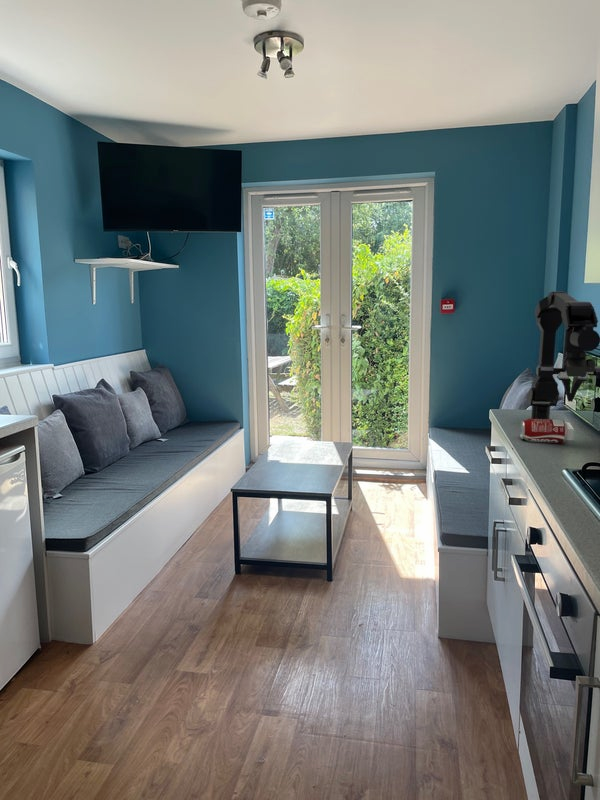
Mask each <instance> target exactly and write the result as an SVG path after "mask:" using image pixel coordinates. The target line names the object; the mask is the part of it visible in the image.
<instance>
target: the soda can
mask: <svg viewBox="0 0 600 800" xmlns="http://www.w3.org/2000/svg"><path fill="white" fill-rule="evenodd" d="M565 422H566V421H565V420H564V419H555V418H554V419H531V418H527V419H525V420H521V422H520V426H519V427H520V428H519V429H520V433H519V434H520V439H521V440H525V441H526V442H532V443H533V442H535V443H553V444H554V443H555V444H564V443H565V442H566V441H567V440H566V439H567V434H568V428H567V424H566V423H565Z"/></svg>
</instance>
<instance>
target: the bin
mask: <svg viewBox="0 0 600 800" xmlns="http://www.w3.org/2000/svg"><path fill="white" fill-rule="evenodd" d="M565 423H566V424H567V428H568V434H567V439H566V440H565V441H571V442H572V441H574V435H575V429H574V427H573V426H572V424H571V423H570V422H569V421H568V422H567V421H565Z"/></svg>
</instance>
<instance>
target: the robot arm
mask: <svg viewBox="0 0 600 800" xmlns="http://www.w3.org/2000/svg"><path fill="white" fill-rule="evenodd" d="M534 317H535V323H536V326H537V327H538V329H539V330H540V336H539V337H540V338H539V352H538V364H537V366H536V369H535V373H536V374H535V375H536V376H535V377H534V379H533V380H532V381H531V387H530V388H529V390H528V393H527V395H526V405H528V406H529V407H531V415H530V419H550V417H551V407H557V406H558V401H559V396H560V392H559V389H558V388H559V387H558V386H559V384H558V382H557V381H556V379H555V378H554V375H556V378H557V379H558V380H559V381H561V382H562V385H563V389H564V391H565V394H566V398H567V402H569V403H570V402H571V403H572V402H573V401H574V399H575V396H576V395H577V393H578V390H579V388H580V387H581V385H582V384H583V383H584V382H588V380H589V379H588V377H589V376H595V377H596V378H597V379H599V380H600V366H599V365H597V366H596V359H595V358H586V355H587V354H586V352H592V351H595V349H597V348H598V347H599V345H600V334H599V333H598V331H596V330H594V328H597V327H598V323H599V320H598V317H597V313H596V310H595V308H594V306H593V304H592V302H591V301H580V300H577V299H575V298H574V297H573V296H571V295H569V294H568V292H566V291H562V290H561V291H560V290H559V291H558V290H555V291H551V292H550V291H549V293H548V295H547V296H546V297H544V298H543V299H541V300H539V301H538V303H537V305H536V306H535V310H534ZM562 324H564V325H563V326H564V337H563V338H564V339H563V351H562V361H561V362H562V363H561V367H554V365H555V364H554V363H555V349H556V340H557V339H556V338H557V331H558V330H559V328H560V327H561V326H562ZM570 377H571V378H572V379H571V378H570ZM571 380H572V382H571Z"/></svg>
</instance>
